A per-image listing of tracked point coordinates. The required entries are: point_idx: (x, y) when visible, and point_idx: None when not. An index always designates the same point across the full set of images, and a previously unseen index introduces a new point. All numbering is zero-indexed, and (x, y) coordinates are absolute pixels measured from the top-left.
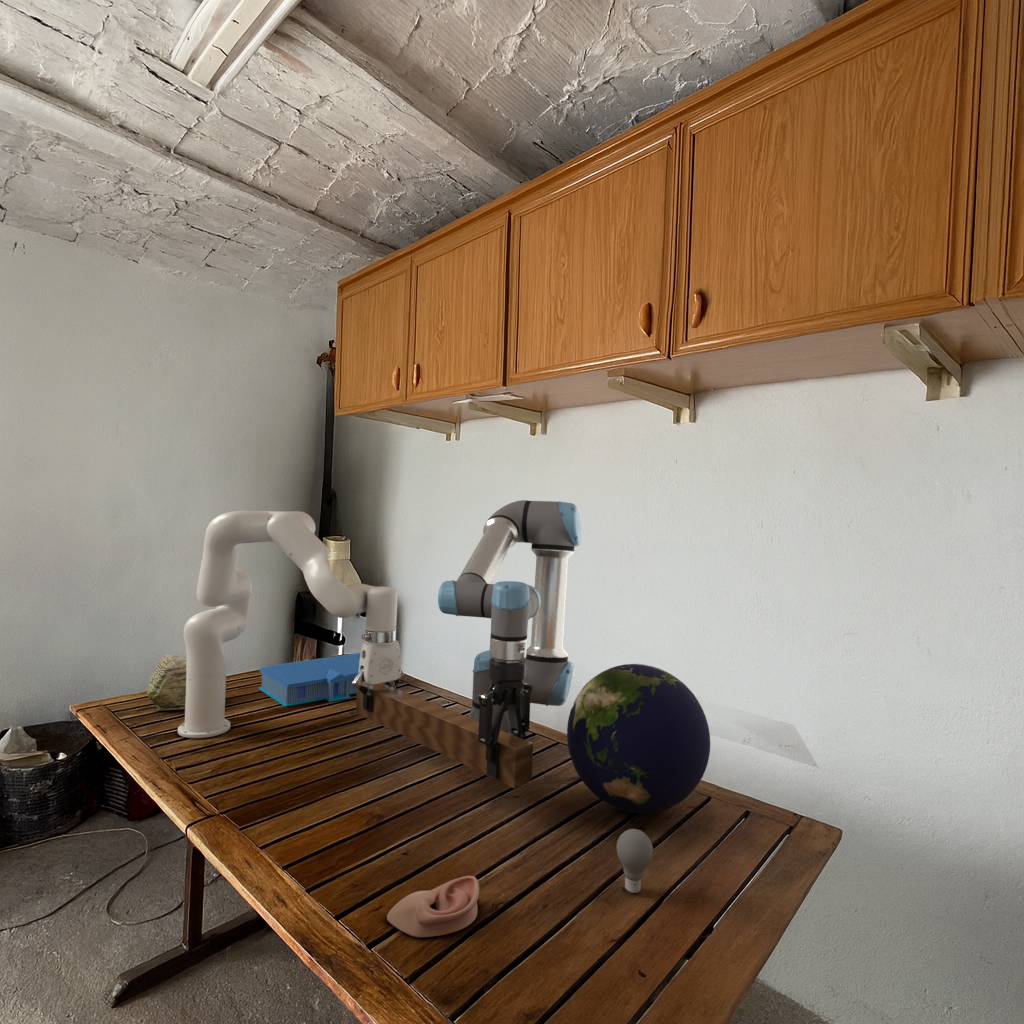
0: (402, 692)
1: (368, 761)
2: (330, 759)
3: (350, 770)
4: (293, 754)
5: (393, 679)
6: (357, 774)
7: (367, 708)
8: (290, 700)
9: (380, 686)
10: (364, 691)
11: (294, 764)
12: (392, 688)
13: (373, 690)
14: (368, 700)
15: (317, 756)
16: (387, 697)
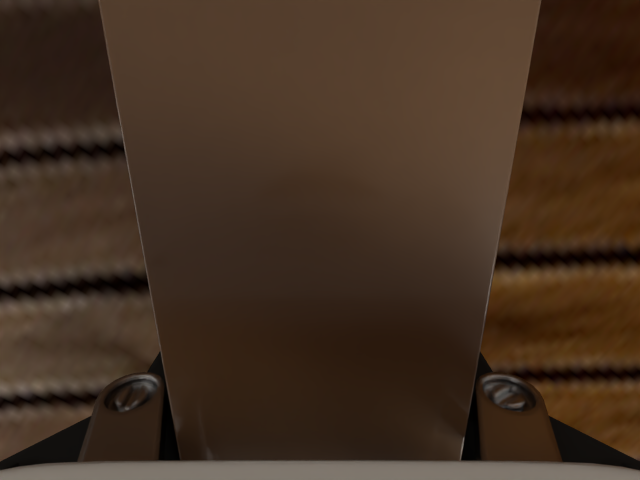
0: (156, 34)
1: None
2: (513, 253)
3: (536, 103)
4: (569, 367)
5: (98, 477)
6: (547, 41)
7: None
8: None
9: None
10: (576, 443)
11: (631, 295)
12: (198, 331)
13: (466, 413)
14: None
15: (527, 305)
16: (523, 29)
